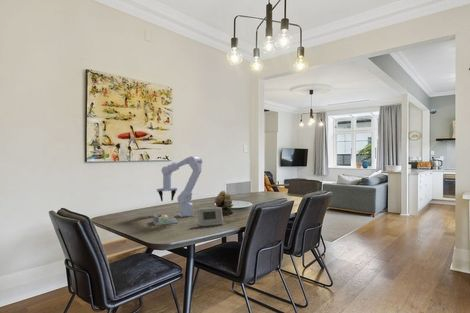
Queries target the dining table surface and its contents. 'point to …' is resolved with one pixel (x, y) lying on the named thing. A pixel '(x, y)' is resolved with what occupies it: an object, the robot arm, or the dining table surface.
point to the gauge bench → (163, 220)
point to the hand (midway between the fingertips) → (167, 200)
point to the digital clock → (210, 216)
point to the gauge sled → (163, 217)
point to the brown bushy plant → (224, 202)
